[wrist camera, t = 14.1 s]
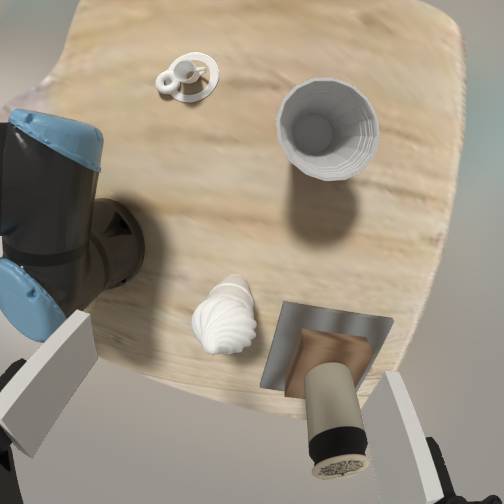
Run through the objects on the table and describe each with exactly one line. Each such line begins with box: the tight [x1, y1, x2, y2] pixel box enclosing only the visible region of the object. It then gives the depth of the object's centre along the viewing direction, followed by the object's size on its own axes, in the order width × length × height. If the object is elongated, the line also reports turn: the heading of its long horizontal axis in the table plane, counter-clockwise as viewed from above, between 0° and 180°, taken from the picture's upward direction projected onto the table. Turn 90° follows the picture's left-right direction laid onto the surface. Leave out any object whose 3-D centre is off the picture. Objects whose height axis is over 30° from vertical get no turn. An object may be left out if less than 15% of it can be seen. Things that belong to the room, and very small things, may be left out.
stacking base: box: [260, 301, 394, 399], centre depth 47 cm, size 20×20×6 cm
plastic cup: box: [276, 78, 380, 181], centre depth 31 cm, size 11×11×12 cm
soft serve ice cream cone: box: [191, 274, 257, 355], centre depth 38 cm, size 8×8×16 cm
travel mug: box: [304, 362, 370, 480], centre depth 35 cm, size 8×8×18 cm
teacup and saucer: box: [155, 53, 219, 103], centre depth 33 cm, size 9×8×4 cm
